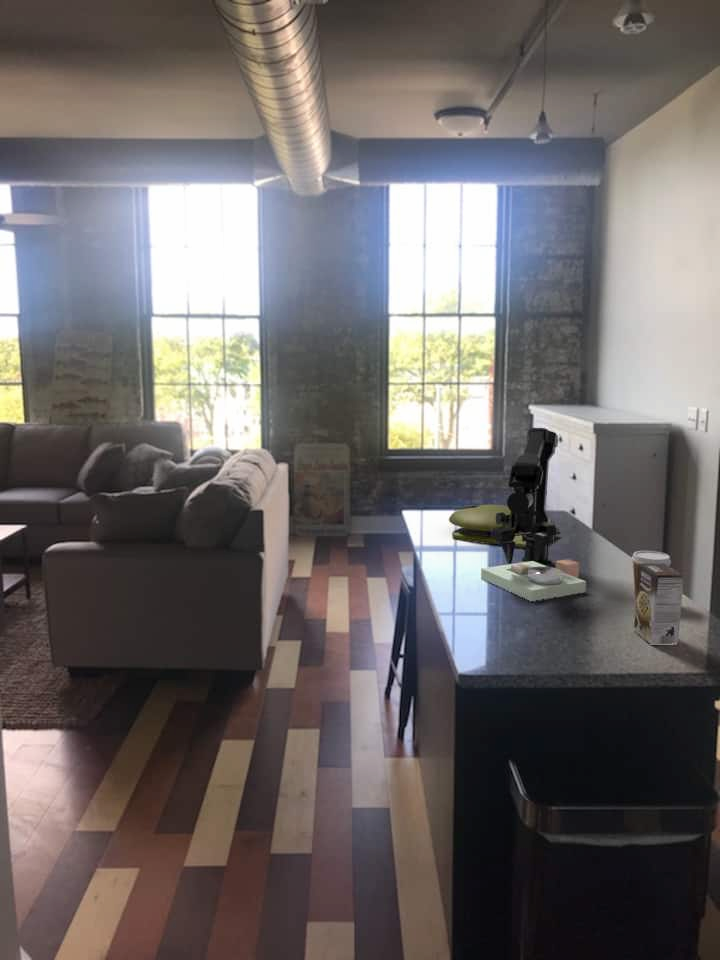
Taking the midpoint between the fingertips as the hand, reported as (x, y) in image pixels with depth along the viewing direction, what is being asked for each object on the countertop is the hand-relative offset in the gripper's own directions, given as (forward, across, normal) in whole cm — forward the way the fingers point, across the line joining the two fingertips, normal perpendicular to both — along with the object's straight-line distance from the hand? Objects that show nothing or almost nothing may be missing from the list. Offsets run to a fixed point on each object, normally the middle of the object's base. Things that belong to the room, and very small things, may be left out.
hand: (522, 561), depth 210 cm
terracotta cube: (+6, -14, +2) cm, 15 cm away
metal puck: (+2, 0, +10) cm, 10 cm away
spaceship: (+6, -28, -48) cm, 56 cm away
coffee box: (+6, 0, +47) cm, 48 cm away
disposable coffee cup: (+6, -19, +27) cm, 34 cm away
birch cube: (+6, 0, 0) cm, 6 cm away
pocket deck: (+6, 0, +4) cm, 7 cm away
